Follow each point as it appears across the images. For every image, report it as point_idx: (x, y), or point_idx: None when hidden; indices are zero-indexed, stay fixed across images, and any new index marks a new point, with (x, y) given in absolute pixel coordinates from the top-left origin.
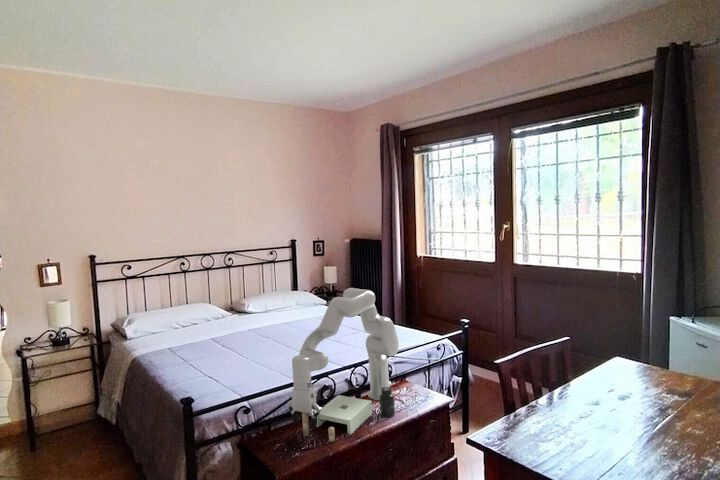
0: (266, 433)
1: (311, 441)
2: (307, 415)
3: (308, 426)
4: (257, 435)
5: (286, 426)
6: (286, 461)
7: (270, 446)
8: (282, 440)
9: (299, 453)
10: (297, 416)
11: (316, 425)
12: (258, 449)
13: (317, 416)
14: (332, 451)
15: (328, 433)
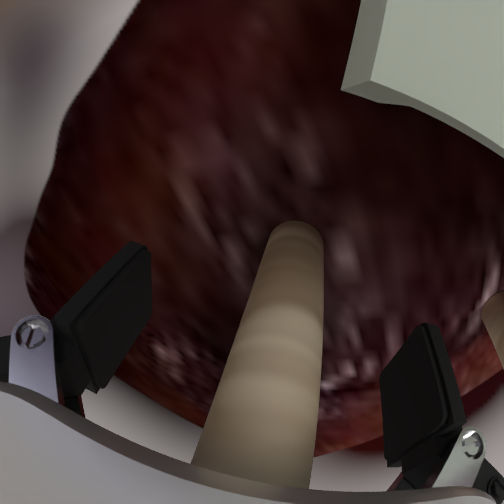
0: (43, 254)
1: (368, 334)
2: (314, 432)
3: (323, 298)
4: (32, 273)
5: (73, 150)
6: None
7: (144, 362)
8: (161, 323)
9: (321, 411)
10: (118, 304)
11: (355, 94)
12: (118, 371)
13: (417, 106)
14: (476, 384)
15: (498, 352)
